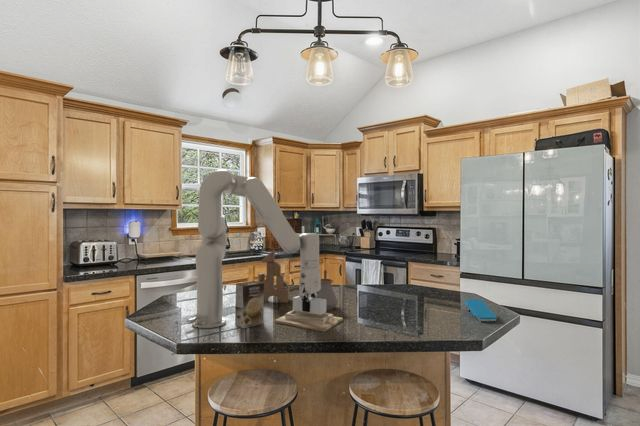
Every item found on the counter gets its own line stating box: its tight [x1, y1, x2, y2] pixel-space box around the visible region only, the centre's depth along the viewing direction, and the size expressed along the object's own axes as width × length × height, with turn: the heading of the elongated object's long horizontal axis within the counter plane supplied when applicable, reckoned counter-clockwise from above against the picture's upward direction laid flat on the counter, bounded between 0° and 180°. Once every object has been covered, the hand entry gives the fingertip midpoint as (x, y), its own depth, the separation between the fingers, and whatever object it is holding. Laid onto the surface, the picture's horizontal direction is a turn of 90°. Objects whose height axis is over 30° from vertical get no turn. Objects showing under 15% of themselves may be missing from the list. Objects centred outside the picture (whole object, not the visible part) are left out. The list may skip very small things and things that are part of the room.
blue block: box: [464, 298, 498, 319], centre depth 161 cm, size 7×7×18 cm
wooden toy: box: [257, 249, 290, 304], centre depth 183 cm, size 16×7×25 cm, turn 87°
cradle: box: [274, 309, 343, 332], centre depth 150 cm, size 16×22×3 cm
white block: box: [292, 295, 327, 315], centre depth 150 cm, size 4×13×5 cm, turn 59°
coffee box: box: [234, 280, 265, 329], centre depth 146 cm, size 9×6×16 cm
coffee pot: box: [317, 269, 339, 311], centre depth 175 cm, size 21×12×15 cm, turn 179°
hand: (309, 309), depth 150 cm, fingers closed on white block, 4 cm apart
